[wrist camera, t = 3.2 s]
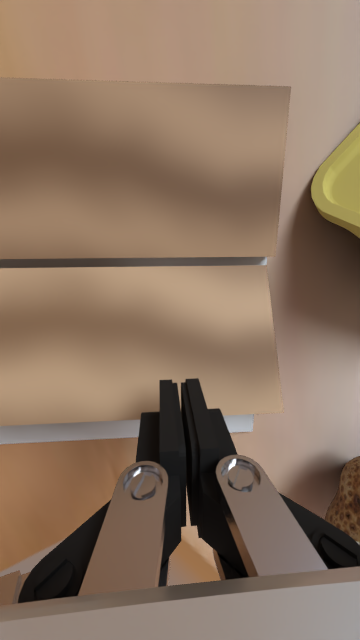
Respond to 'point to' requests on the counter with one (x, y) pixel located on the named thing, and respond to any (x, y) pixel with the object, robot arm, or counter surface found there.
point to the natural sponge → (347, 501)
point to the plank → (134, 341)
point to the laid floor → (137, 187)
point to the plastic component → (340, 185)
